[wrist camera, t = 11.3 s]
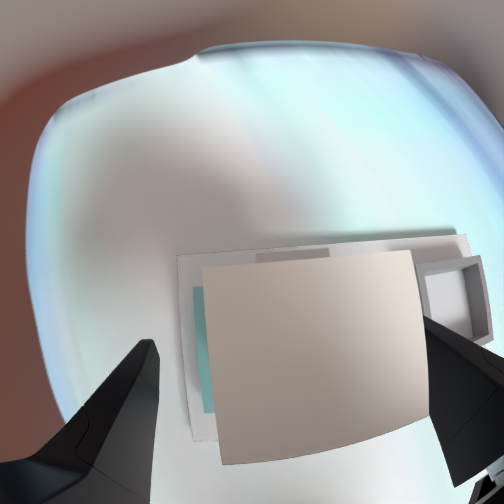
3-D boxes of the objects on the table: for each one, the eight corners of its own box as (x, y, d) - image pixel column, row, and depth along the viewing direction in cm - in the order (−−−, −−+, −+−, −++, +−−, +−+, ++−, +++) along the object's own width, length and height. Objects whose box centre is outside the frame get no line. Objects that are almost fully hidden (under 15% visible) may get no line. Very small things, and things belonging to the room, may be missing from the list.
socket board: (459, 237, 20) (479, 225, 18) (479, 365, 17) (501, 364, 14) (180, 259, 18) (170, 244, 16) (195, 436, 15) (188, 452, 12)
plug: (304, 370, 16) (428, 415, 4) (232, 379, 15) (222, 465, 4) (296, 298, 17) (401, 216, 6) (225, 304, 17) (200, 226, 5)
